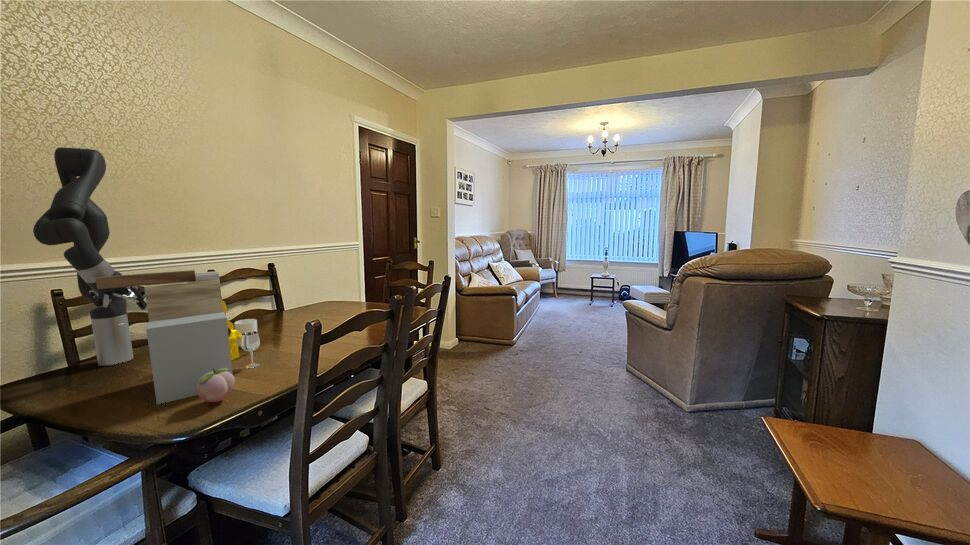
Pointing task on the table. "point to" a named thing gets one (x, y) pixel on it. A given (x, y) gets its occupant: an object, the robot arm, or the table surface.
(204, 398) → the decorative fruit
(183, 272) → the brown block
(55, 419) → the table surface
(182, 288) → the oak stand
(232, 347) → the figure statuette
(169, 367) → the grey block
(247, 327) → the white cup
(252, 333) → the wineglass
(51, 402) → the table surface
